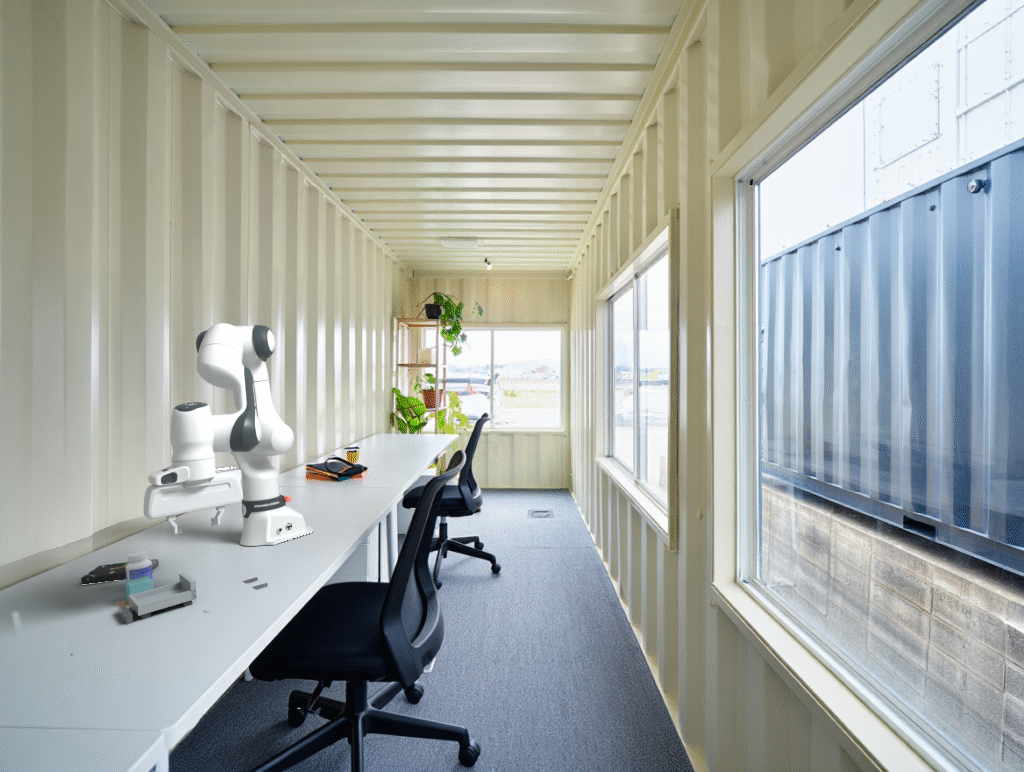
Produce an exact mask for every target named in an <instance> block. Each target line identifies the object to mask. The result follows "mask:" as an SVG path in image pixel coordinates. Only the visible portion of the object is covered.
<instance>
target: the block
mask: <svg viewBox="0 0 1024 772" xmlns="http://www.w3.org/2000/svg"><path fill="white" fill-rule="evenodd" d="M124 582H125V584H124V586H125V600H126V601H127V602H128V603H129V595H133V594H136V593H140V592H144V591H147V590H151V589H154V579H153V580H152V579H151V578H150V577H149V576H145V577H141V578H137V579H133V580H129V581H127V580H124Z"/></svg>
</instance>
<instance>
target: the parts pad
mask: <svg viewBox="0 0 1024 772" xmlns="http://www.w3.org/2000/svg"><path fill="white" fill-rule="evenodd" d="M113 604H114V606H115V607H116V608H117V609H118V610H119V606H120V605H125V606H126V607H127V608H128V609H129V608H130V607H131V606H130V605H129V603H128V602H127V601H126V599H122V600H119V601H116V602H113Z"/></svg>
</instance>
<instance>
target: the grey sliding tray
mask: <svg viewBox="0 0 1024 772" xmlns="http://www.w3.org/2000/svg"><path fill="white" fill-rule="evenodd" d="M178 575H179V581H178V582H173V583H169V584H167V585H163V586H159V587H155V588H153V589H151V590H147V591H144V592H140V593H136V594H133V595H129V605H130V606H131V609H132V611H134V613H135V614H137V616H139V617H140V619H142V620H144V619H148V618H151V616H152V614H151V613H153V612H155V611H159V610H162V609H167V608H168V607H169V608H170V607H173V606H176V605H180V604H182V606H183V607H188V606H191V605H193V600H197V582H196V580H195V579H194V578H193V577H191V576H189V575H188V574H187V573H185V572H180V573H179V574H178Z"/></svg>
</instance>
